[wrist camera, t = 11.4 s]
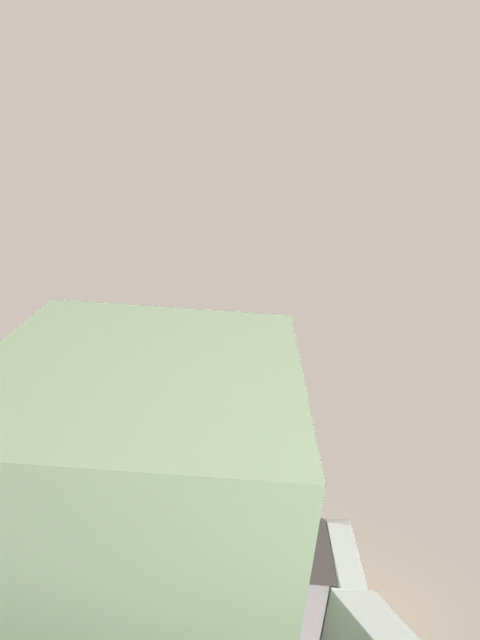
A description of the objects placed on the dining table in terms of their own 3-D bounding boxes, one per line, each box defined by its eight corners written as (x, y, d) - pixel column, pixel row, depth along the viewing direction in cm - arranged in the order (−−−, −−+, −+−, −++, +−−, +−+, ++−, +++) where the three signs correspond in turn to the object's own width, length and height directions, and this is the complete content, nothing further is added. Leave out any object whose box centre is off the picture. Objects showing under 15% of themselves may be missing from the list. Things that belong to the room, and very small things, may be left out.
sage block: (-8, 882, 9) (-136, 452, 5) (83, 623, 13) (52, 298, 10) (255, 902, 9) (325, 485, 5) (255, 635, 13) (291, 315, 10)
